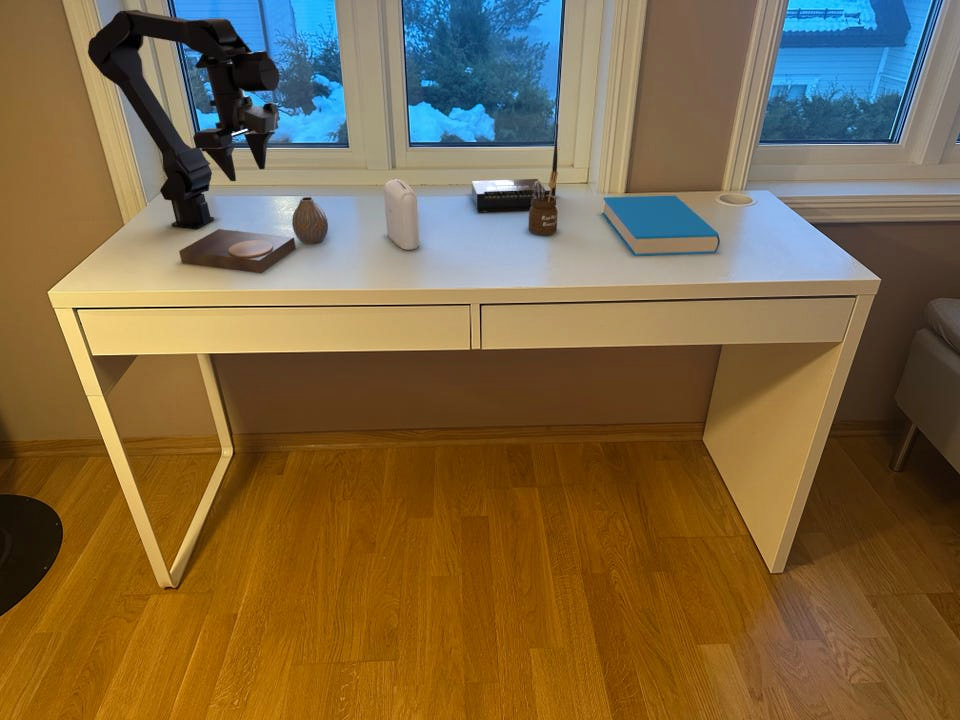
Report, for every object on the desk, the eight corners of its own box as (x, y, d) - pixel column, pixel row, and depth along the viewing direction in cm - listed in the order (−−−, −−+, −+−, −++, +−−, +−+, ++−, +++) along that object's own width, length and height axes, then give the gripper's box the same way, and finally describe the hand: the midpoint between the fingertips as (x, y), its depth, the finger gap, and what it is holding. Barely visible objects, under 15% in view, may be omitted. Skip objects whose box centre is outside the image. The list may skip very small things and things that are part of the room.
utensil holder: (522, 231, 142) (524, 174, 136) (541, 224, 146) (543, 168, 140) (544, 238, 139) (547, 180, 133) (562, 230, 143) (566, 174, 137)
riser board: (181, 263, 127) (178, 249, 126) (221, 240, 138) (218, 227, 136) (261, 273, 123) (258, 259, 122) (295, 249, 134) (293, 235, 132)
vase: (321, 248, 134) (316, 205, 130) (289, 245, 135) (282, 202, 131) (334, 236, 140) (330, 194, 135) (303, 233, 141) (297, 192, 137)
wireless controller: (478, 213, 153) (477, 135, 144) (470, 194, 165) (470, 121, 156) (564, 209, 155) (569, 132, 146) (551, 191, 167) (555, 119, 158)
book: (636, 236, 129) (602, 195, 150) (633, 258, 131) (600, 214, 152) (723, 233, 130) (677, 193, 151) (718, 254, 132) (674, 212, 153)
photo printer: (384, 235, 140) (380, 176, 134) (404, 232, 142) (400, 173, 136) (401, 252, 132) (397, 189, 126) (422, 248, 134) (419, 187, 128)
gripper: (230, 99, 118) (251, 188, 126) (292, 84, 133) (307, 164, 141) (180, 101, 122) (204, 187, 129) (246, 85, 137) (263, 163, 144)
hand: (248, 175), depth 136 cm, fingers open, 9 cm apart
